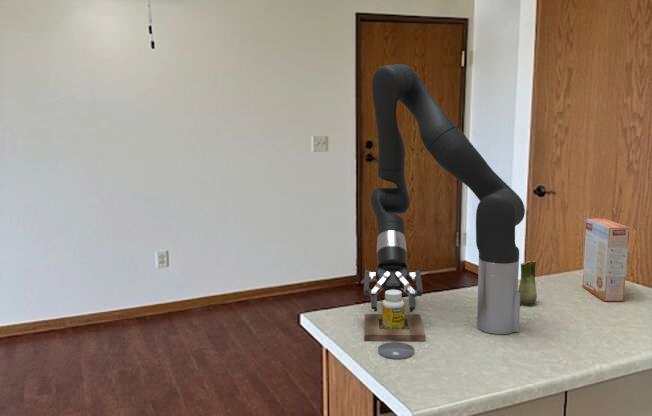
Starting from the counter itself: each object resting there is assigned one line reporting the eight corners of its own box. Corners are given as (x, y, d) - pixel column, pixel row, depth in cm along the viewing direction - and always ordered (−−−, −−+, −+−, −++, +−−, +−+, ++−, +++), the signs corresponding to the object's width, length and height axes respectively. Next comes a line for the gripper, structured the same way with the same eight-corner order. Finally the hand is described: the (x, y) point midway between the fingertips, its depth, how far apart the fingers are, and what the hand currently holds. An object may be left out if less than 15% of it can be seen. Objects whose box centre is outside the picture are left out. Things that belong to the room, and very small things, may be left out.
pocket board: (419, 319, 147) (419, 314, 146) (425, 341, 133) (425, 335, 133) (364, 319, 148) (364, 313, 147) (364, 340, 134) (364, 334, 134)
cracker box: (625, 302, 157) (630, 226, 154) (603, 302, 158) (608, 227, 154) (602, 286, 171) (606, 217, 168) (581, 287, 171) (585, 217, 168)
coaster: (412, 344, 131) (413, 342, 131) (415, 359, 123) (415, 356, 123) (377, 344, 132) (377, 341, 132) (378, 359, 124) (378, 356, 124)
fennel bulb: (532, 300, 160) (534, 258, 158) (541, 306, 155) (543, 263, 153) (512, 301, 159) (514, 259, 157) (520, 307, 154) (522, 264, 152)
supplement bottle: (394, 324, 144) (394, 287, 142) (409, 330, 139) (409, 292, 138) (377, 329, 141) (377, 291, 139) (392, 335, 137) (392, 296, 135)
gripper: (363, 244, 145) (363, 303, 136) (420, 244, 144) (424, 303, 135) (363, 259, 151) (363, 317, 142) (418, 260, 150) (422, 317, 141)
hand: (393, 310), depth 138 cm, fingers open, 8 cm apart
